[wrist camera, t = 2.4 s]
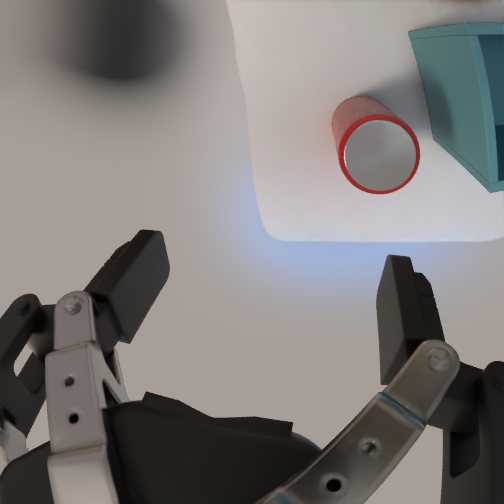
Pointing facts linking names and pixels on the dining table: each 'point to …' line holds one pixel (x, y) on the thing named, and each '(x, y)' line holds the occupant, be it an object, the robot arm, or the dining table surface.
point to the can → (374, 146)
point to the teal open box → (466, 94)
